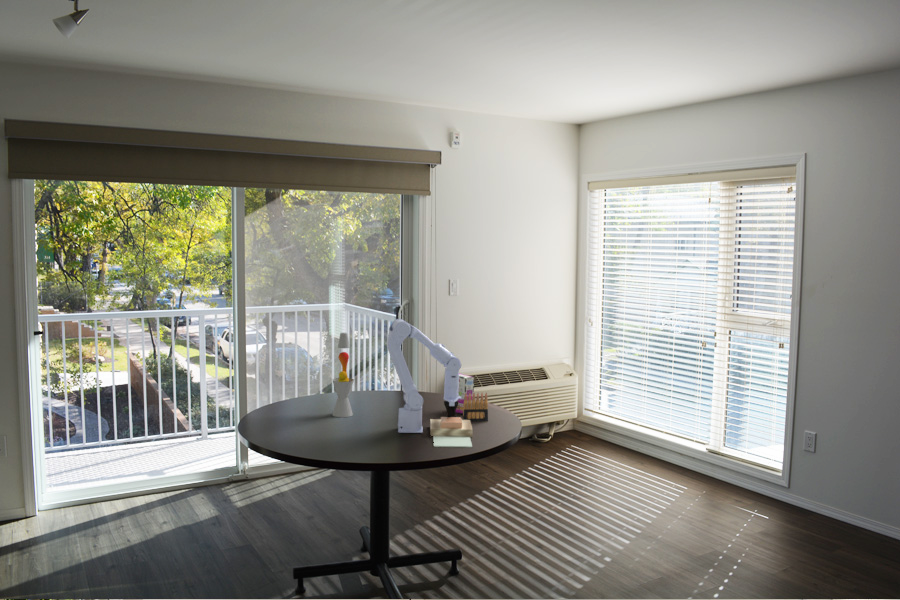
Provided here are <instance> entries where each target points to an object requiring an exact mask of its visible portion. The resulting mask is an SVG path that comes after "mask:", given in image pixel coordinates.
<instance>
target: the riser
mask: <svg viewBox="0 0 900 600" xmlns="http://www.w3.org/2000/svg"><path fill="white" fill-rule="evenodd" d="M429 420H430V423H429V433H430V435H431V436H460V437H470V438H473V433H474V432H473V426H472V421H470V420H462V419H461V420H462V428H441V418H438V419H437V418H435V419H433V418H430V419H429ZM431 436H430V437H431Z"/></svg>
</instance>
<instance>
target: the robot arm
mask: <svg viewBox="0 0 900 600" xmlns="http://www.w3.org/2000/svg"><path fill="white" fill-rule="evenodd" d="M407 337H408V338H409V339H410V338H411V339H416V340H417V341H418V342H419V343H421V344H422V345H423V346H425V348H427V349H428V351H429V355H430V356H431V357H433V358H434V359H435V360H436V361H437V362H438V363H440V364H442V365H443V367H444V383H443V384H444V385H443V386H444V387H443V391H444V392H443V400H444V401H443V404H444V407H445V410H446V417H455V415H456V414H455V413H456V412H455V410H456V408H457V406H458V401H457V400H458V399H461V397H459V396H458V393H459V373H460V370H461V369H462V364H461V363H462V362H461V360H460V359H459V357H456V356H455V355H454V352H452V351H449V350H448V349H447V348H446V345H445V344H443V343H440V342H438V343H436V342H435V343H434V342H433V340H431V339H430V338H429V337H428V336H427V335H425V334H424V333H423V332H422V331H421V330H420V329H418V328H417V327H415V326H414V325H413V324H410V323H409V322H407V321H406V320H404V319H402V318H396V319H395V320H393V321H392V323H391V324H390V326H389V328H388V336H387V340H386V348H387V351H388V353H389V356H390V358H391V361H392V363H393V366H394V369H395V371H396V374H397V377H398V379H399V382H400V384H401V388H402V392H403V396H402V397H403V401H404V405H403V407H399V408H398V420H397V421H398V422H397V432H398V433H403V434H404V433H405V434H409V433H410V434H411V433H412V434H423V433H424V431H423V429H424V428H423V427H424V426H423V422H422V421H423V404H424V398H423V396H422V395H421V394H420V393H419V391H418V388H417V387H416V385H415V383H414V380H413V378H412V374H411V373H410V372H411V371H410V370H409V367H408V365H407V362H406V359H405V357H404V354H403V353H404V352H403V351H402V349H401V347H402V346H401V345H402V344H403V342H404V341H405V339H407Z"/></svg>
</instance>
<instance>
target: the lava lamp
mask: <svg viewBox="0 0 900 600" xmlns="http://www.w3.org/2000/svg"><path fill="white" fill-rule="evenodd" d="M337 348H338V349H349V348H350V341H349V334H348V332H340V334H339V340H338V345H337ZM338 360H339V362H340V364H341V367H342V368H341V369H342V371H340V372H339V373H338V377H337V378H336V377H335V378H333V379H332V382H333V387H334V389H335V392H336V396H337V399H336V402H335V405H334V408H333V410H332V416H333V417H335V418H348V417H351V416H352V417H353V415H354V414H353V410H352V406H351V403H350V400H349V395H350V393H351V391H352V388H353V385H354V382H355V379H353V378H350V377H348V372H347V371H348V370H347V368H348V362H349V360H350V355H349V353H347V352H345V351H342V352H340V353H339V354H338Z"/></svg>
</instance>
